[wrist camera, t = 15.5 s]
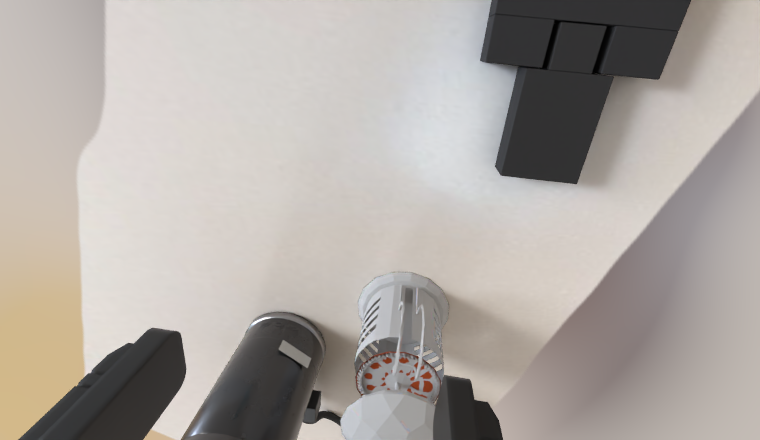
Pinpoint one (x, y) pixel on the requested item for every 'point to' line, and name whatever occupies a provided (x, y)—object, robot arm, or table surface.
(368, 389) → the french press
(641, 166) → the table surface
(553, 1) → the large pad
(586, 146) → the small pad
